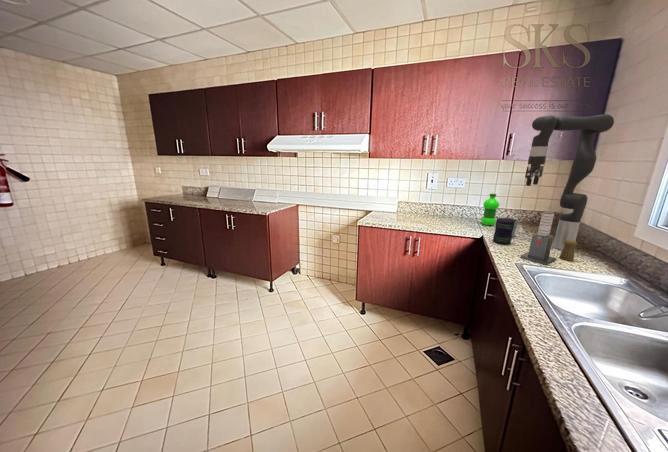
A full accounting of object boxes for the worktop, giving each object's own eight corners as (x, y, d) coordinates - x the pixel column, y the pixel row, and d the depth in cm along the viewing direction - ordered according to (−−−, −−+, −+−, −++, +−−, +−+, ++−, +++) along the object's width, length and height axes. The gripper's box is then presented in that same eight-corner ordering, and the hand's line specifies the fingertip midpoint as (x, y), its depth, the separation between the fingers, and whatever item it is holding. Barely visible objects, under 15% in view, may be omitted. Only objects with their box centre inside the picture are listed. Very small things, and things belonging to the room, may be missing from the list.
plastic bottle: (495, 227, 202) (501, 195, 195) (480, 225, 207) (485, 194, 200) (495, 224, 210) (500, 193, 204) (480, 222, 215) (485, 192, 209)
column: (537, 246, 141) (545, 211, 136) (546, 248, 138) (554, 212, 133) (534, 247, 139) (542, 212, 134) (543, 249, 136) (551, 213, 131)
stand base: (529, 253, 148) (534, 231, 145) (555, 260, 139) (561, 236, 135) (520, 258, 142) (524, 234, 138) (546, 265, 132) (552, 240, 129)
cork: (558, 256, 145) (563, 237, 142) (573, 259, 141) (578, 239, 138) (559, 259, 140) (563, 240, 137) (573, 262, 137) (579, 242, 134)
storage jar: (489, 241, 170) (492, 218, 166) (499, 239, 173) (503, 217, 169) (503, 246, 161) (508, 222, 157) (514, 244, 165) (518, 221, 161)
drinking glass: (497, 233, 187) (500, 216, 184) (514, 235, 183) (517, 218, 180) (498, 236, 179) (502, 220, 175) (516, 239, 174) (520, 221, 171)
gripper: (535, 155, 149) (529, 183, 153) (523, 155, 142) (518, 185, 146) (551, 155, 143) (545, 185, 147) (539, 155, 136) (533, 186, 140)
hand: (531, 185), depth 147 cm, fingers open, 8 cm apart
